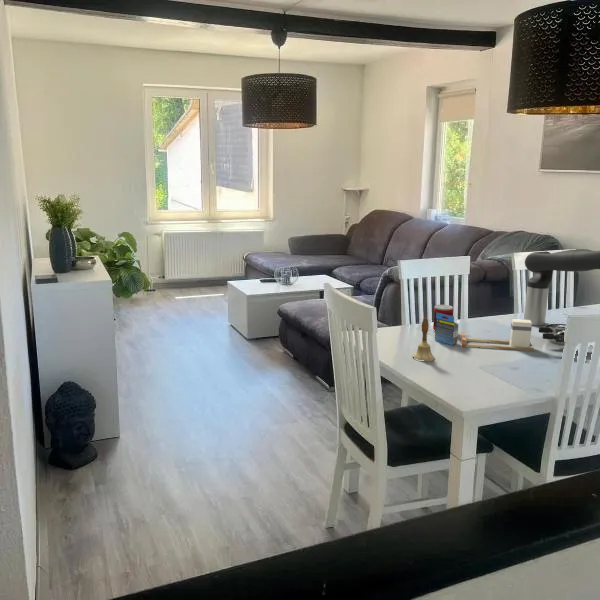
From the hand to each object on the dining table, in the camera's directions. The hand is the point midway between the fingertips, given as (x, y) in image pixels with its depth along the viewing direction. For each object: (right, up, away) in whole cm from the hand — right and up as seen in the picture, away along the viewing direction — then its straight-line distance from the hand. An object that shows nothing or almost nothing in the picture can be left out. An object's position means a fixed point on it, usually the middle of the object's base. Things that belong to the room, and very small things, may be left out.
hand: (540, 332), depth 240 cm
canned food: (-34, -1, +24) cm, 41 cm away
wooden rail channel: (-15, -5, +5) cm, 17 cm away
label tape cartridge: (-36, -5, +9) cm, 37 cm away
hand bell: (-49, -9, -11) cm, 51 cm away
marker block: (-8, -6, +3) cm, 10 cm away
